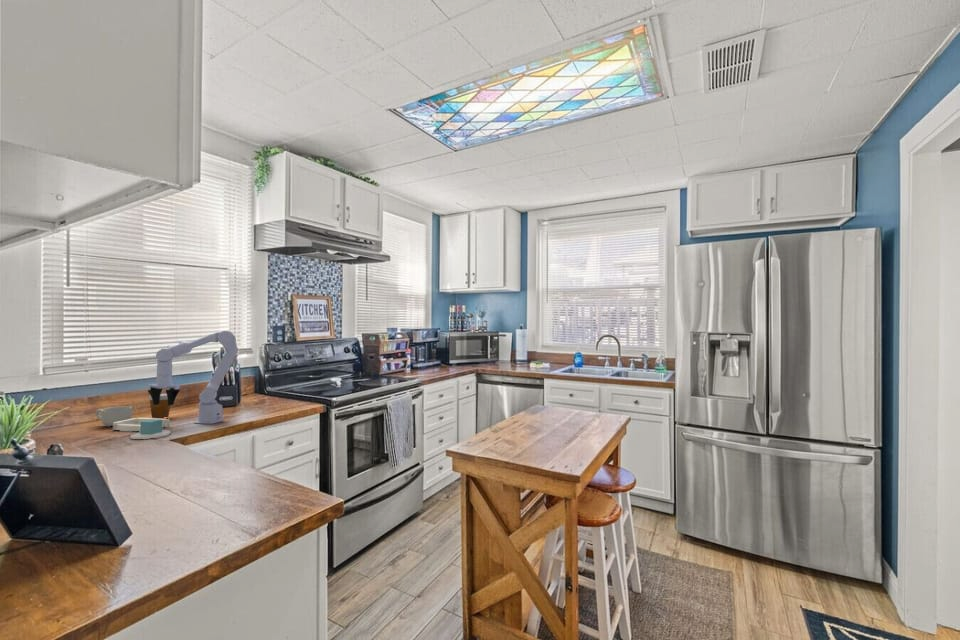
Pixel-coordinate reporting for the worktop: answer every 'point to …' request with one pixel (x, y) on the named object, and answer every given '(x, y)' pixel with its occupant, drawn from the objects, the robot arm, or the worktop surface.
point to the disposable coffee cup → (160, 407)
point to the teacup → (114, 414)
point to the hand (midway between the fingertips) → (163, 404)
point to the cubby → (136, 424)
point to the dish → (151, 435)
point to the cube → (151, 426)
